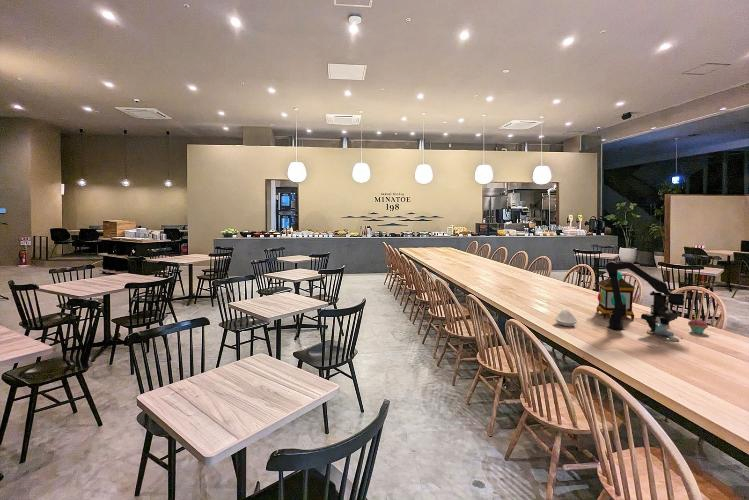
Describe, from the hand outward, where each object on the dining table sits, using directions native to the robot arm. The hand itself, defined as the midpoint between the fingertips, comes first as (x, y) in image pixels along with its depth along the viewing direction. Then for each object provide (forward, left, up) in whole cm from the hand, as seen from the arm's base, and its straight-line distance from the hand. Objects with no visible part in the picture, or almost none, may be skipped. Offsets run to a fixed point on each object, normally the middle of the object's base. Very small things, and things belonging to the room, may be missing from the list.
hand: (658, 331), depth 215 cm
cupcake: (+23, -3, -2) cm, 23 cm away
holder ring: (0, 0, -1) cm, 1 cm away
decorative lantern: (+8, +38, -2) cm, 38 cm away
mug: (0, -3, -1) cm, 3 cm away
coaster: (-3, -9, -1) cm, 10 cm away
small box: (+20, +17, -2) cm, 26 cm away
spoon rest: (-32, +34, -2) cm, 47 cm away
